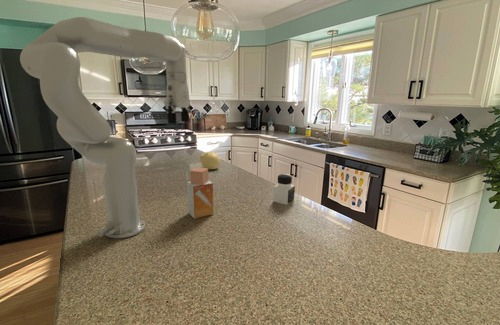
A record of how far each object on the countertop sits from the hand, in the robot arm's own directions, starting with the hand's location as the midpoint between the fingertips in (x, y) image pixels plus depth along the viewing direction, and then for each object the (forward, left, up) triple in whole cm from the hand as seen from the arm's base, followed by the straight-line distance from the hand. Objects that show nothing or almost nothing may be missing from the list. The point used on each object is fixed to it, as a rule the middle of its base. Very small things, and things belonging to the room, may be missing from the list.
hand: (179, 122), depth 105 cm
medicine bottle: (+14, -42, -34) cm, 56 cm away
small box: (-9, -13, -34) cm, 38 cm away
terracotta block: (-9, -13, -21) cm, 27 cm away
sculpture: (+53, +11, -35) cm, 64 cm away
